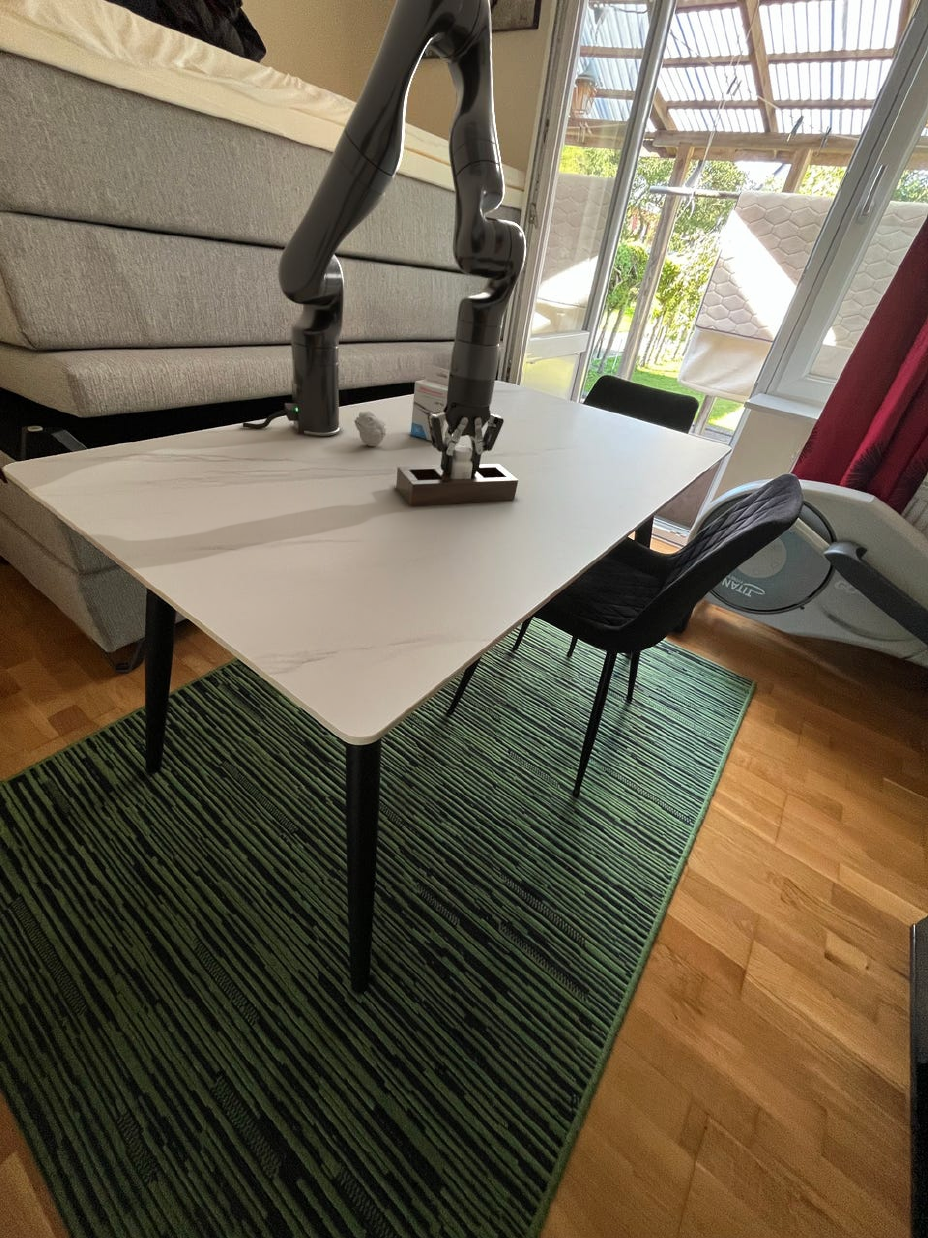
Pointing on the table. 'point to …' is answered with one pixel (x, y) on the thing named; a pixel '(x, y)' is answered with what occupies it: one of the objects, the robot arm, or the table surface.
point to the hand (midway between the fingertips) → (459, 472)
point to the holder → (455, 485)
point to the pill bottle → (461, 463)
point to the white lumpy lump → (370, 428)
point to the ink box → (429, 401)
